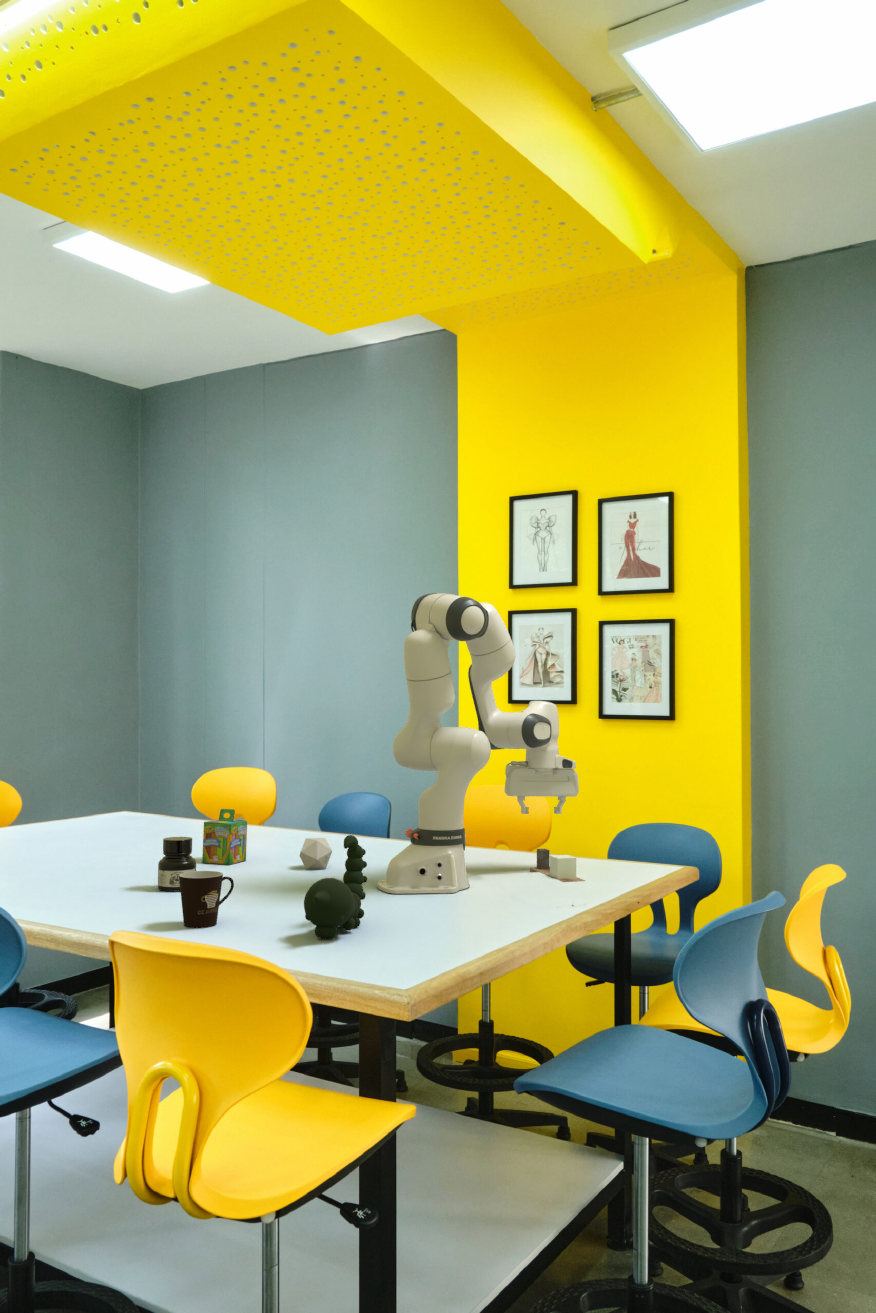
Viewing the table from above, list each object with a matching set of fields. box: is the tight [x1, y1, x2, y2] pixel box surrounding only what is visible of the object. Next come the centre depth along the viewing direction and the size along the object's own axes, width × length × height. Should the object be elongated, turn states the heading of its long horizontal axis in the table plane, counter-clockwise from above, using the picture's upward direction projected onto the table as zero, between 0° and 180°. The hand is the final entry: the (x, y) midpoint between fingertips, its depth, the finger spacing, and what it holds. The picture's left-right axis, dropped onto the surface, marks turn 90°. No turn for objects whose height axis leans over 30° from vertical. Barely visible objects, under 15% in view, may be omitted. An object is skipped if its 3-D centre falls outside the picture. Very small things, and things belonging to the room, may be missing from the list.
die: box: [299, 837, 333, 870], centre depth 264 cm, size 8×9×10 cm
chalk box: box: [201, 808, 248, 866], centre depth 274 cm, size 9×9×15 cm
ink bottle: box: [157, 836, 197, 892], centre depth 234 cm, size 10×9×12 cm
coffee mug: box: [179, 870, 235, 929], centre depth 196 cm, size 12×9×10 cm
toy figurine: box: [303, 834, 368, 940], centre depth 190 cm, size 9×19×25 cm
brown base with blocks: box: [529, 848, 586, 883], centre depth 250 cm, size 6×22×6 cm, turn 16°
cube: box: [549, 854, 577, 880], centre depth 246 cm, size 5×5×5 cm
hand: (541, 813), depth 259 cm, fingers open, 8 cm apart
